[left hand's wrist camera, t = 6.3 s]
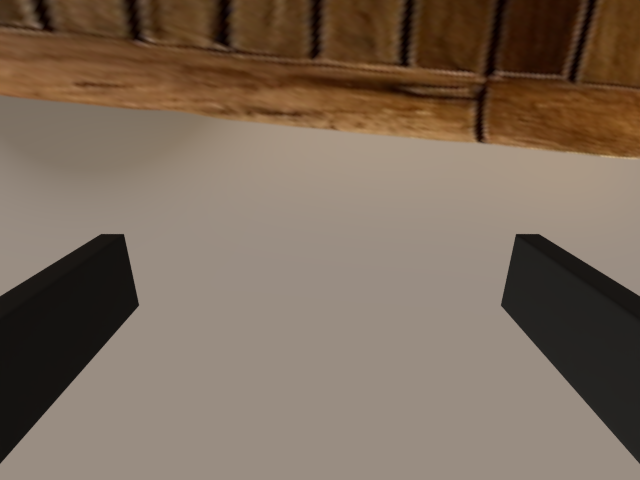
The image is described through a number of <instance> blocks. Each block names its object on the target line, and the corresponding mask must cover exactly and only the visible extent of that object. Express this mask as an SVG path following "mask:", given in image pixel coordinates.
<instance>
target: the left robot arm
mask: <svg viewBox="0 0 640 480" xmlns="http://www.w3.org/2000/svg"><path fill="white" fill-rule="evenodd" d="M138 306H139V303H138V298H137V294H136V289H135V284H134V279H133V275H132V270H131V265H130V261H129V256H128V251H127V246H126V242H125V237H124V234H101V235H99V236H97V237H96V238H94V239H92V240H91V241H89V242H88V243H86V244H84V245H83V246H81V247H79V248H78V249H76V250H75V251H73V252H71V253H70V254H68V255H66V256H65V257H63V258H62V259H60V260H58V261H57V262H55V263H53V264H52V265H50V266H49V267H47V268H45V269H44V270H42V271H41V272H39V273H37V274H36V275H34V276H32V277H31V278H29V279H28V280H26V281H24V282H23V283H21V284H19V285H18V286H16V287H15V288H13V289H11V290H10V291H8V292H6V293H5V294H3V295H2V296H0V463H1V462H2V461H3V460H4V459H5V458H6V456H7V455H8V454H9V453H10V452H11V451H12V450H13V448H14V447H15V446H16V445H17V444H18V443H19V442H20V440H21V439H22V438H23V437H24V436H25V435H26V434H27V432H28V431H29V430H30V429H31V428H32V427H33V426H34V425H35V423H36V422H37V421H38V420H39V419H40V418H41V417H42V415H43V414H44V413H45V412H46V411H47V410H48V409H49V407H50V406H51V405H52V404H53V403H54V402H55V401H56V399H57V398H58V397H59V396H60V395H61V394H62V393H63V391H64V390H65V389H66V388H67V387H68V386H69V385H70V383H71V382H72V381H73V380H74V379H75V378H76V377H77V376H78V374H79V373H80V372H81V371H82V370H83V369H84V368H85V366H86V365H87V364H88V363H89V362H90V361H91V360H92V358H93V357H94V356H95V355H96V354H97V353H98V352H99V350H100V349H101V348H102V347H103V346H104V345H105V344H106V343H107V341H108V340H109V339H110V338H111V337H112V336H113V335H114V333H115V332H116V331H117V330H118V329H119V328H120V327H121V325H122V324H123V323H124V322H125V321H126V320H127V319H128V317H129V316H130V315H131V314H132V313H133V312H134V311H135V309H136V308H137V307H138ZM501 306H502V307H503V308H504V309H505V311H506V312H507V313H508V314H509V315H510V316H511V317H512V319H513V320H514V321H515V322H516V323H517V324H518V325H519V327H520V328H521V329H522V330H523V331H524V332H525V333H526V335H527V336H528V337H529V338H530V339H531V340H532V341H533V343H534V344H535V345H536V346H537V347H538V348H539V349H540V350H541V352H542V353H543V354H544V355H545V356H546V357H547V358H548V360H549V361H550V362H551V363H552V364H553V365H554V366H555V368H556V369H557V370H558V371H559V372H560V373H561V374H562V376H563V377H564V378H565V379H566V380H567V381H568V382H569V384H570V385H571V386H572V387H573V388H574V389H575V390H576V391H577V393H578V394H579V395H580V396H581V397H582V398H583V399H584V401H585V402H586V403H587V404H588V405H589V406H590V407H591V409H592V410H593V411H594V412H595V413H596V414H597V415H598V417H599V418H600V419H601V420H602V421H603V422H604V423H605V425H606V426H607V427H608V428H609V429H610V430H611V431H612V432H613V434H614V435H615V436H616V437H617V438H618V439H619V441H620V442H621V443H622V444H623V445H624V446H625V447H626V449H627V450H628V451H629V452H630V453H631V454H632V455H633V456H634V458H635V459H636V460H637V461H638V462H639V463H640V296H638V295H637V294H635V293H634V292H632V291H630V290H629V289H627V288H625V287H624V286H622V285H621V284H619V283H617V282H616V281H614V280H612V279H611V278H609V277H608V276H606V275H604V274H603V273H601V272H599V271H598V270H596V269H595V268H593V267H591V266H590V265H588V264H587V263H585V262H583V261H582V260H580V259H578V258H577V257H575V256H574V255H572V254H570V253H569V252H567V251H565V250H564V249H562V248H561V247H559V246H557V245H556V244H554V243H552V242H551V241H549V240H548V239H546V238H544V237H543V236H541V235H539V234H516V237H515V242H514V246H513V251H512V256H511V261H510V266H509V270H508V275H507V279H506V284H505V289H504V294H503V298H502V303H501Z"/></svg>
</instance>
